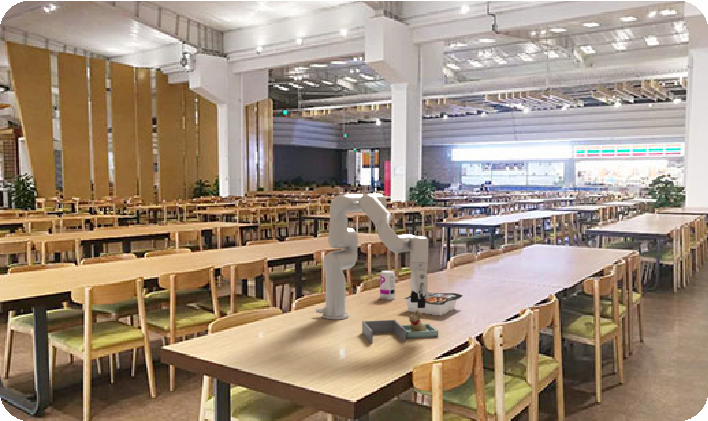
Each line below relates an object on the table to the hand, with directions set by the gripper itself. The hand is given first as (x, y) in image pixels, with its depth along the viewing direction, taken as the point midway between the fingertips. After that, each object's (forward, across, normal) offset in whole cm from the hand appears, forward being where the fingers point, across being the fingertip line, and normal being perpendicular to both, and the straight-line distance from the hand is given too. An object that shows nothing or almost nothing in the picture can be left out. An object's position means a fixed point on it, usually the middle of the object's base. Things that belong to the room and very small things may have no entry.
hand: (417, 305), depth 239 cm
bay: (+12, -3, +16) cm, 20 cm away
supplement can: (+14, +70, -6) cm, 72 cm away
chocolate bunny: (+12, -1, 0) cm, 12 cm away
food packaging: (+13, +40, -21) cm, 47 cm away
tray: (+12, -1, 0) cm, 12 cm away
